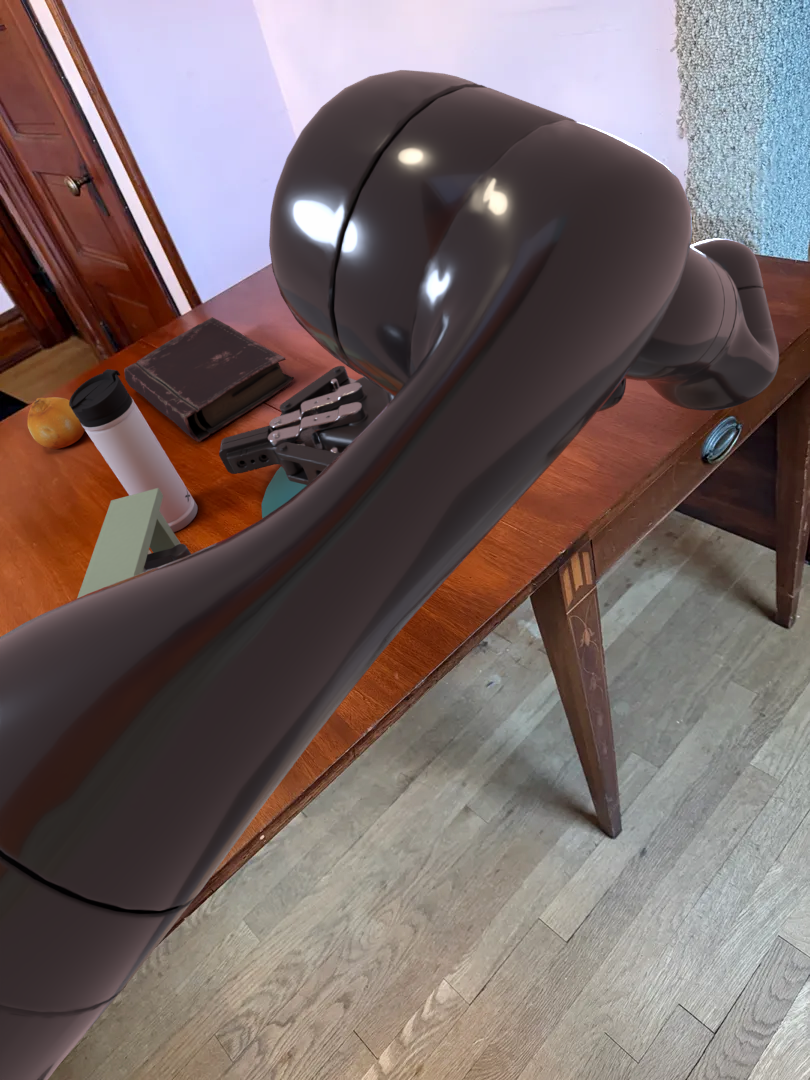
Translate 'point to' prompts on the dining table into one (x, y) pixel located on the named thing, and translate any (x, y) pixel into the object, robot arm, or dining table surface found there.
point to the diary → (207, 377)
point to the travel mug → (131, 445)
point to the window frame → (127, 540)
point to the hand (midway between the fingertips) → (224, 457)
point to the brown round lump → (54, 423)
